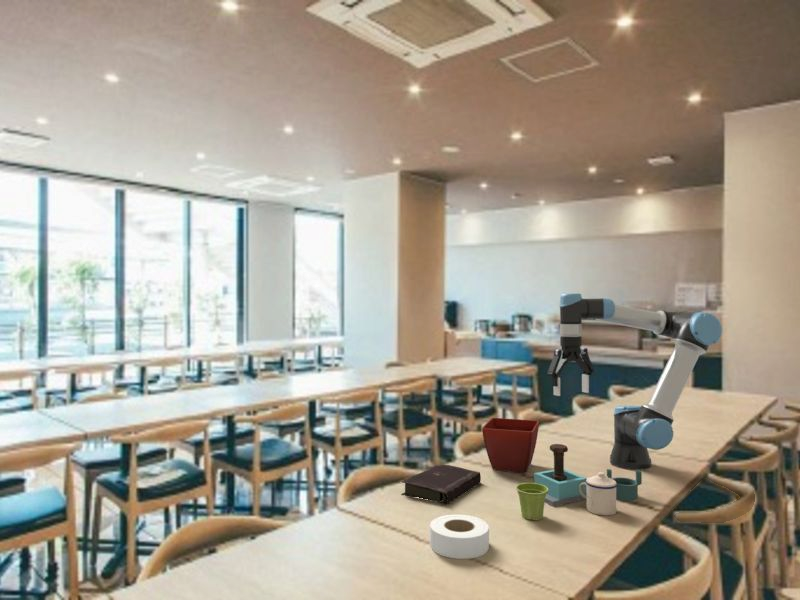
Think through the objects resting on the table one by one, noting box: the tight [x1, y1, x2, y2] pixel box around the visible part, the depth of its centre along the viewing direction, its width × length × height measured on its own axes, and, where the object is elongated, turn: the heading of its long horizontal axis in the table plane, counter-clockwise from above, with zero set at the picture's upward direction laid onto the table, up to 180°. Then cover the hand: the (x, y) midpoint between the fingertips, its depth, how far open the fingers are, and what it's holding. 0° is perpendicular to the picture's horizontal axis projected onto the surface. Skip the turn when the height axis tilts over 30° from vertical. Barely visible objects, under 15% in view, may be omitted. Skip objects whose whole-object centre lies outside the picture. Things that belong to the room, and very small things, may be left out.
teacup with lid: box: [579, 471, 617, 517], centre depth 170 cm, size 12×9×12 cm
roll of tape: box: [429, 514, 490, 560], centre depth 146 cm, size 16×16×6 cm
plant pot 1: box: [481, 417, 540, 474], centre depth 213 cm, size 19×19×17 cm
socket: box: [533, 468, 588, 507], centre depth 183 cm, size 18×13×6 cm
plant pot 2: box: [515, 482, 548, 521], centre depth 165 cm, size 9×9×9 cm
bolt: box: [549, 443, 569, 482], centre depth 182 cm, size 6×5×15 cm
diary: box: [400, 463, 482, 506], centre depth 190 cm, size 19×25×5 cm
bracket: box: [606, 468, 643, 502], centre depth 181 cm, size 9×9×9 cm
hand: (571, 393), depth 200 cm, fingers open, 13 cm apart
